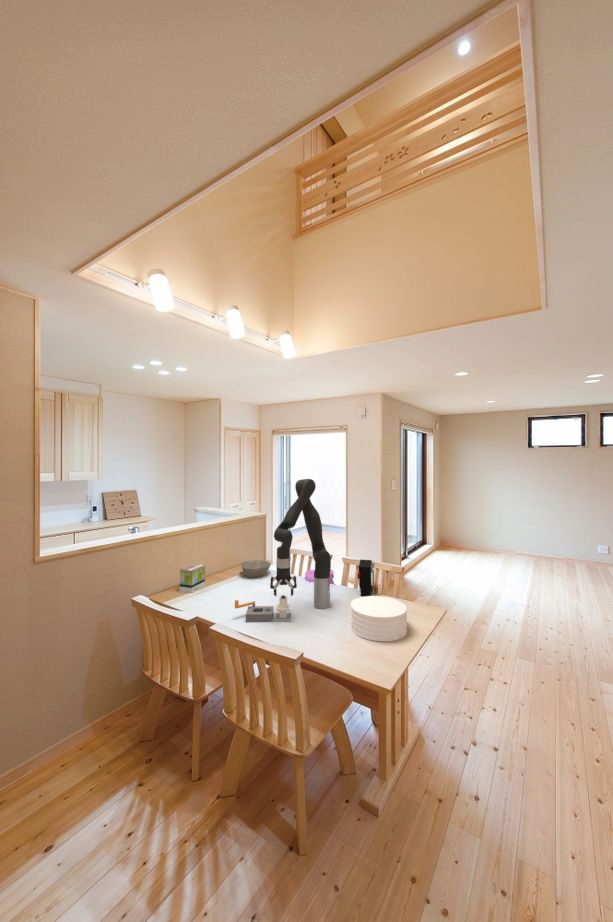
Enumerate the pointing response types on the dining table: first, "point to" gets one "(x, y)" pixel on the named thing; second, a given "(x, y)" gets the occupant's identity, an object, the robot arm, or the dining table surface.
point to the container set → (310, 576)
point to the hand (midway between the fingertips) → (283, 595)
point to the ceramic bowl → (255, 568)
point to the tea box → (192, 578)
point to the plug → (283, 607)
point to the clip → (243, 604)
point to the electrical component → (366, 577)
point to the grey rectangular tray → (259, 614)
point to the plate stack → (378, 618)
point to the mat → (282, 618)
